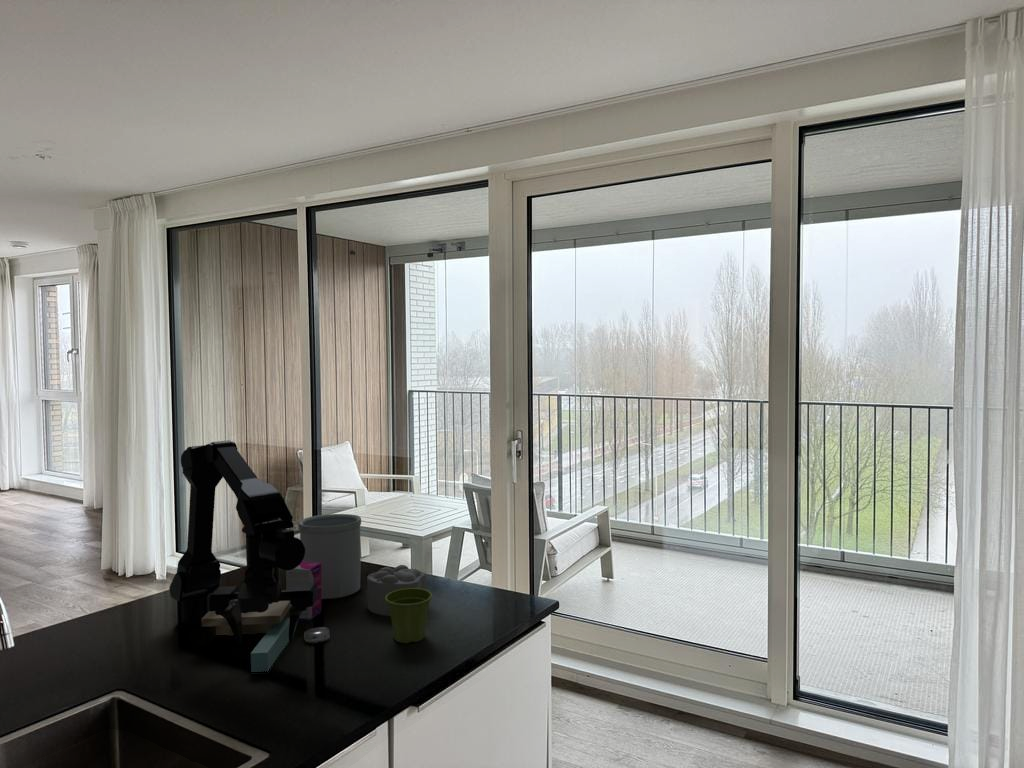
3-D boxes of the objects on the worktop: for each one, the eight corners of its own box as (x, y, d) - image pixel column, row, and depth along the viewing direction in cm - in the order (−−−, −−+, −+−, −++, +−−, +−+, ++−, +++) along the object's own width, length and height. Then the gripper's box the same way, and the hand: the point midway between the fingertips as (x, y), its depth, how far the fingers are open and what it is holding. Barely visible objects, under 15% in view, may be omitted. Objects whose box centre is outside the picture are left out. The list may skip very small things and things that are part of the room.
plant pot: (441, 632, 143) (440, 591, 143) (416, 650, 134) (415, 606, 134) (403, 626, 147) (402, 585, 147) (376, 642, 138) (375, 600, 138)
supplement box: (310, 621, 150) (309, 569, 150) (285, 620, 151) (284, 568, 151) (323, 612, 156) (321, 561, 155) (299, 610, 157) (297, 560, 157)
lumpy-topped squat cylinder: (414, 617, 152) (413, 578, 152) (359, 613, 155) (358, 575, 154) (430, 601, 162) (429, 564, 162) (377, 598, 165) (377, 561, 164)
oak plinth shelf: (202, 651, 135) (201, 619, 135) (218, 633, 144) (217, 602, 144) (281, 648, 137) (280, 615, 136) (291, 630, 146) (290, 599, 145)
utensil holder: (306, 582, 177) (304, 514, 177) (365, 579, 179) (363, 511, 178) (294, 602, 163) (292, 528, 162) (359, 598, 164) (357, 525, 164)
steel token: (303, 646, 138) (303, 638, 138) (305, 636, 143) (304, 628, 143) (329, 642, 139) (328, 635, 139) (330, 633, 144) (329, 625, 144)
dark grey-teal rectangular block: (251, 674, 126) (250, 653, 126) (278, 637, 143) (278, 618, 143) (268, 674, 126) (267, 652, 126) (293, 636, 143) (292, 617, 143)
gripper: (194, 574, 119) (197, 663, 120) (305, 570, 121) (307, 658, 122) (216, 556, 131) (219, 638, 131) (317, 552, 132) (319, 633, 133)
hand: (265, 642), depth 129 cm, fingers open, 9 cm apart
